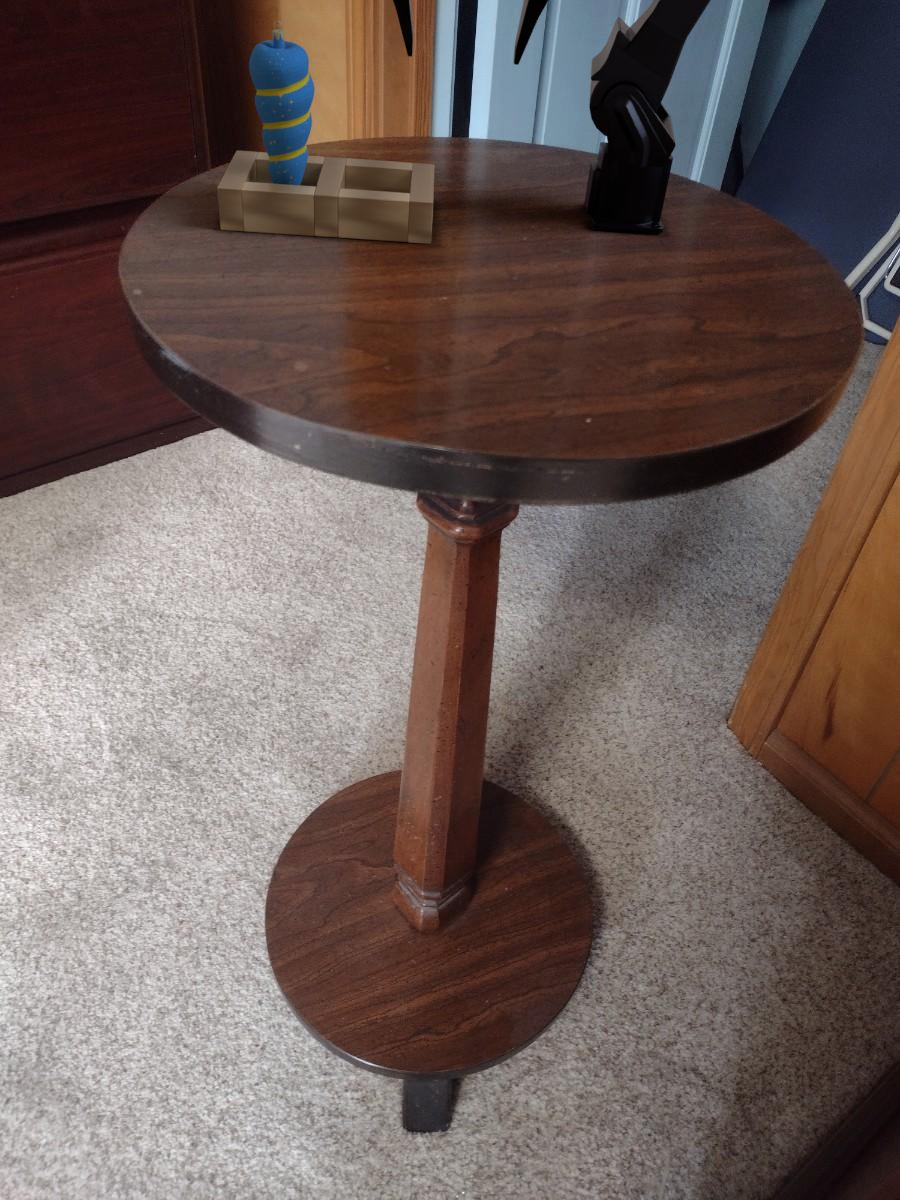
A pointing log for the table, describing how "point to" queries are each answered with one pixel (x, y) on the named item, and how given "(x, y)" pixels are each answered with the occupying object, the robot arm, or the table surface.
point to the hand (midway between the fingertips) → (463, 59)
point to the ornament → (283, 105)
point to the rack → (330, 199)
